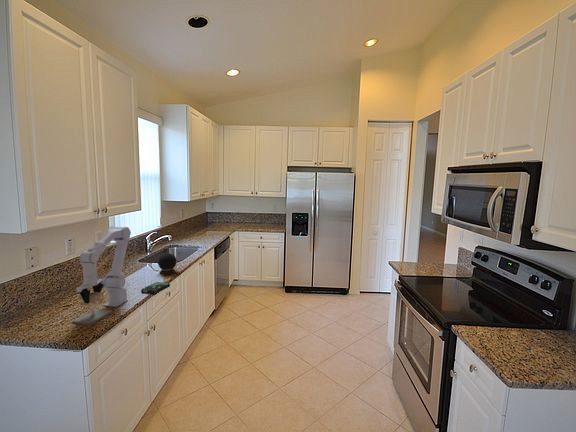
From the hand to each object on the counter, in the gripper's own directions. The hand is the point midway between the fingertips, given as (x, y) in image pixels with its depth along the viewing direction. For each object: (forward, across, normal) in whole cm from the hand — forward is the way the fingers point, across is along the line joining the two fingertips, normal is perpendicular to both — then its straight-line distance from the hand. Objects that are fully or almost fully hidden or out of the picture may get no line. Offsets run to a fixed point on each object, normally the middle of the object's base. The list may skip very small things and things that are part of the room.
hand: (92, 300), depth 149 cm
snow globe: (+9, -74, -7) cm, 75 cm away
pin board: (+9, 0, 0) cm, 9 cm away
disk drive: (+10, -42, +6) cm, 43 cm away
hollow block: (+2, 0, 0) cm, 2 cm away
